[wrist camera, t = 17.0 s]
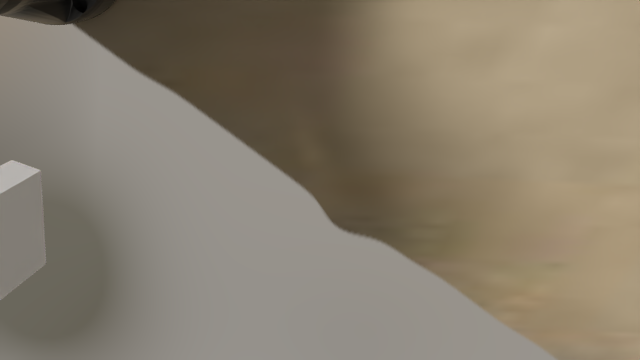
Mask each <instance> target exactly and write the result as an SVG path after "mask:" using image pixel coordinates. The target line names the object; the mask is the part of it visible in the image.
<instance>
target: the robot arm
mask: <svg viewBox="0 0 640 360" xmlns="http://www.w3.org/2000/svg"><path fill="white" fill-rule="evenodd" d="M114 1H115V0H0V15H1V16H6V17H11V18H17V19H22V20H27V21H33V22H38V23H43V24H50V25H65V24H71V23H75V22H79V21H83V20H87V19H90V18H93V17H95V16H97V15H99V14H101V13H102V12H104V11H105V10H106V9H108V8H109V7H110V6H111V5H112V4H113V3H114ZM45 254H46V253H45V236H44V218H43V199H42V181H41V171H40V170H38V169H35V168H33V167H30V166H27V165H24V164H21V163H19V162H16V161H13V160H11V161H9V162H7V163H5V164H3V165H1V166H0V300H1V299H2V298H4V297H5V296H6V295H7V294H9V293H10V292H11V291H12V290H14V289H15V288H16V287H17V286H18V285H20V284H21V283H22V282H24V281H25V280H26V279H27V278H29V277H30V276H31V275H32V274H34V273H35V272H36V271H37V270H39V269H40V268H41V267H42V266H44V265H45V264H46V255H45Z"/></svg>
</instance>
